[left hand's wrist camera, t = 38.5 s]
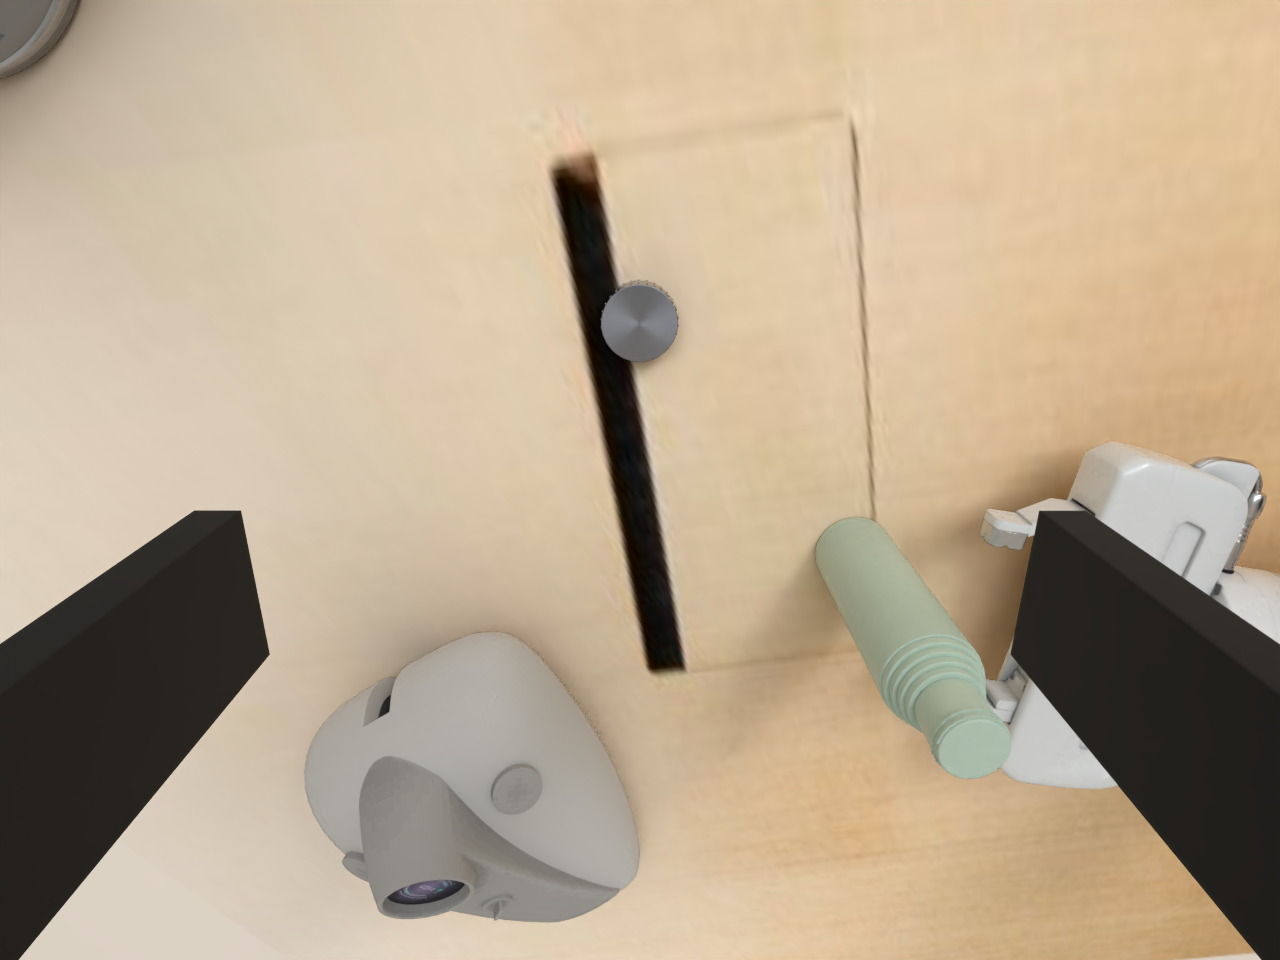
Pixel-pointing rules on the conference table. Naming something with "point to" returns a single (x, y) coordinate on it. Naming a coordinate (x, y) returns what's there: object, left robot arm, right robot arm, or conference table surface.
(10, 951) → the left robot arm
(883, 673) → the bottle
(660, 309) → the cap
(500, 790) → the projector
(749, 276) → the conference table surface
